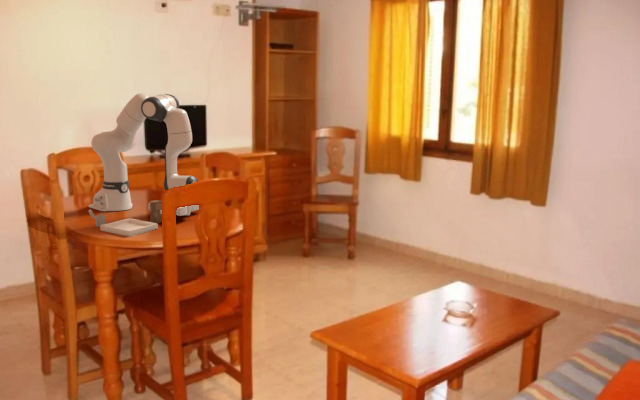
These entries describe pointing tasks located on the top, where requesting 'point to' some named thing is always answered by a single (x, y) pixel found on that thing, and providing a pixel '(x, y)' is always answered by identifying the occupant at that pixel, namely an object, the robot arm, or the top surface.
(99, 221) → the lighter
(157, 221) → the walnut block
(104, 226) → the tray
